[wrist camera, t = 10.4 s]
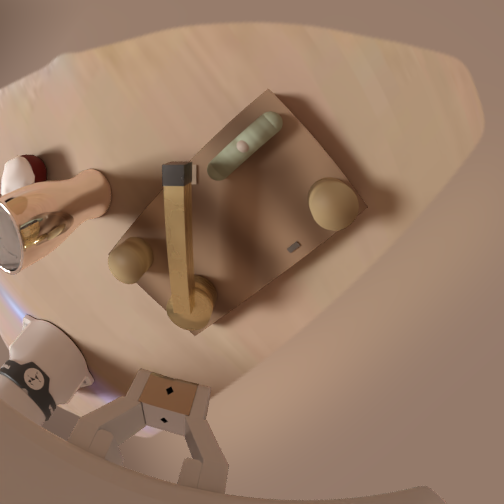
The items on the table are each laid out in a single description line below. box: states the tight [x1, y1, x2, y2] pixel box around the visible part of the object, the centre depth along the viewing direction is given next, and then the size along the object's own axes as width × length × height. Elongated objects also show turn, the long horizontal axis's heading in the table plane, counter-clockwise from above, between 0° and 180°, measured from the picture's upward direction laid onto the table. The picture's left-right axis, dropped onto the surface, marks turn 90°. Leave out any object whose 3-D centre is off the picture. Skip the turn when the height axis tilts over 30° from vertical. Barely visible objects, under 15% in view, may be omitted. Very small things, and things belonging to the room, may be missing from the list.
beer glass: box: [0, 169, 111, 275], centre depth 23 cm, size 7×7×15 cm
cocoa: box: [1, 155, 47, 196], centre depth 24 cm, size 10×6×12 cm, turn 30°
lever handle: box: [162, 162, 217, 331], centre depth 25 cm, size 16×4×5 cm, turn 178°
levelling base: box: [108, 89, 368, 336], centre depth 27 cm, size 24×14×6 cm, turn 133°
